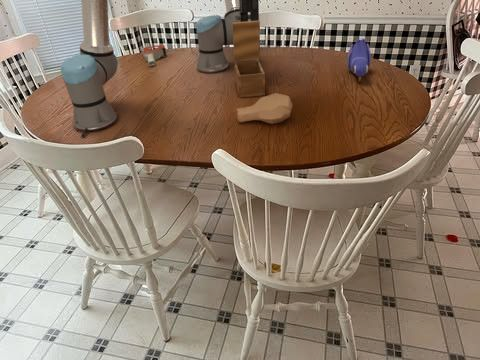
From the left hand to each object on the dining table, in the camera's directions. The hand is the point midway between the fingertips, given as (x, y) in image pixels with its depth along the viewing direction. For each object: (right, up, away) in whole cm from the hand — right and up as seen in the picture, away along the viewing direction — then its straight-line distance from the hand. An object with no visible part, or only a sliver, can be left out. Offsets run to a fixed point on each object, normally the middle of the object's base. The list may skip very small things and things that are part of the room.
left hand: (251, 16), depth 120 cm
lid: (-1, +1, +26) cm, 26 cm away
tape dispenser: (-51, +9, +71) cm, 88 cm away
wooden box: (0, -16, +32) cm, 36 cm away
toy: (+48, -10, +37) cm, 61 cm away
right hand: (-2, +7, +28) cm, 29 cm away
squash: (+5, -34, +7) cm, 35 cm away
